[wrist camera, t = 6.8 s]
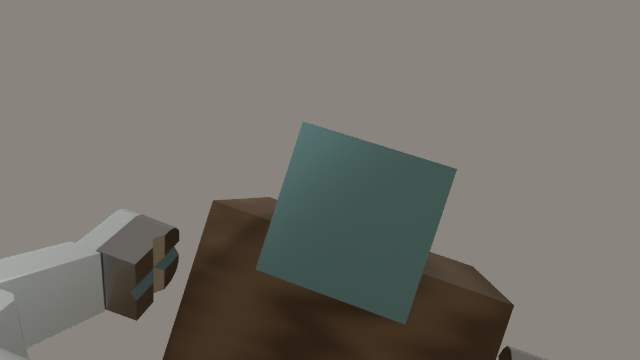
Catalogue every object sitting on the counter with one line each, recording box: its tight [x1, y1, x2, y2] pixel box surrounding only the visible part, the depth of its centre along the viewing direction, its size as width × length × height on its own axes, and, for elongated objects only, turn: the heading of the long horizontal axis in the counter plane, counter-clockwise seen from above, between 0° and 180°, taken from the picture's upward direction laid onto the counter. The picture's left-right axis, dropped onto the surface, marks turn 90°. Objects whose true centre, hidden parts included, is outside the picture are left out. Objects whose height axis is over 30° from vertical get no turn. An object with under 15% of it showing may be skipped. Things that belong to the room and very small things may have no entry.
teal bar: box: [255, 122, 457, 324], centre depth 23 cm, size 24×4×4 cm, turn 171°
